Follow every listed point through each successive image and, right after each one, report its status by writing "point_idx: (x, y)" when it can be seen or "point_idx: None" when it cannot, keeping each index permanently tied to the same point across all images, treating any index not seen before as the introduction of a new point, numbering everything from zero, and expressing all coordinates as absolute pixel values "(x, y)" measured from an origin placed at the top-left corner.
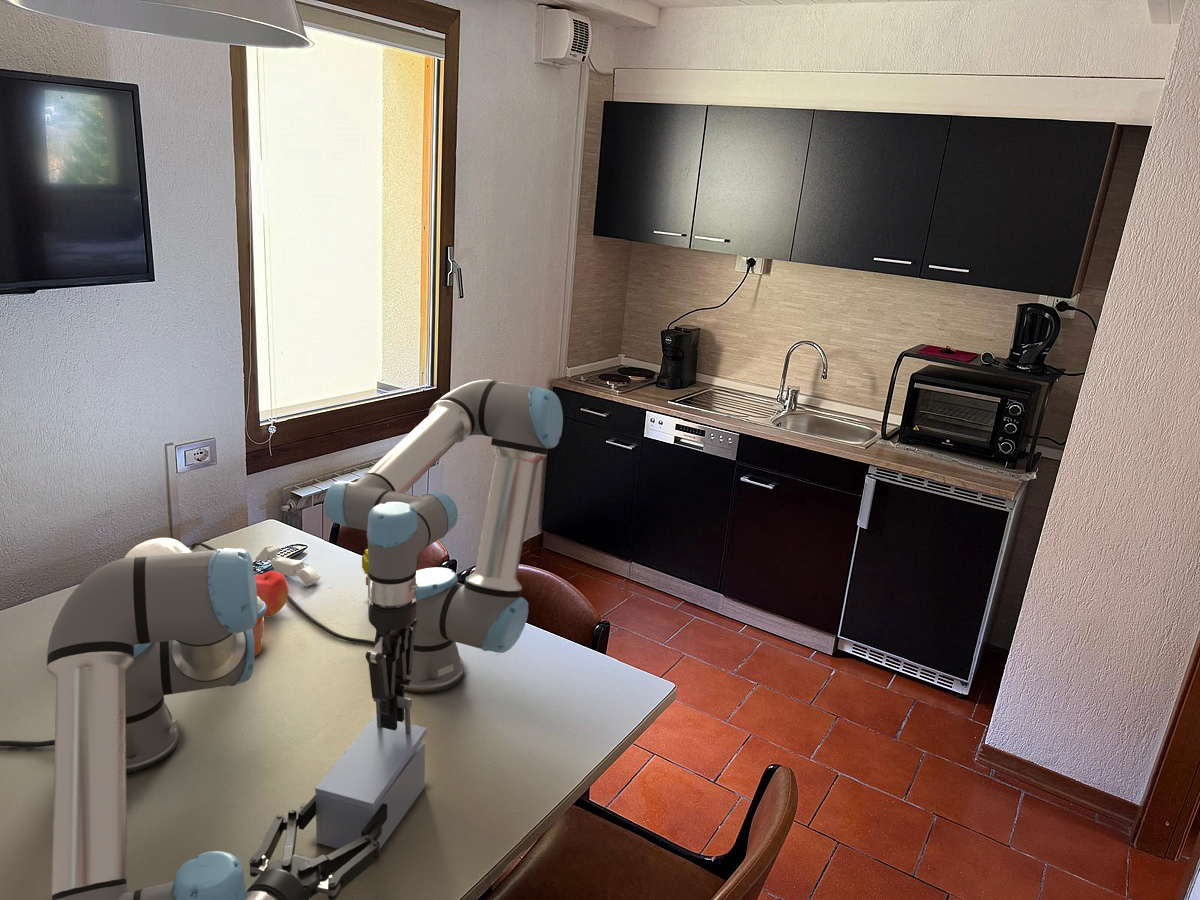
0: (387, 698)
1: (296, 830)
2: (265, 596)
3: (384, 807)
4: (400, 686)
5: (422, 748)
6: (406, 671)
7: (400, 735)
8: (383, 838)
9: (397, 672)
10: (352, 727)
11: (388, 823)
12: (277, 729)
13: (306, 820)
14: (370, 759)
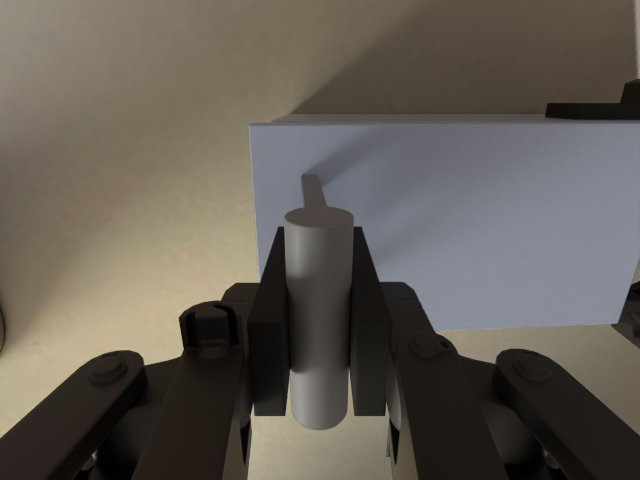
0: (545, 363)
1: (632, 289)
2: None
3: (596, 105)
4: (257, 345)
5: (294, 120)
6: (131, 403)
7: (329, 205)
8: (507, 114)
9: (236, 472)
10: (178, 353)
11: (493, 115)
12: (250, 454)
13: None
14: (475, 241)
